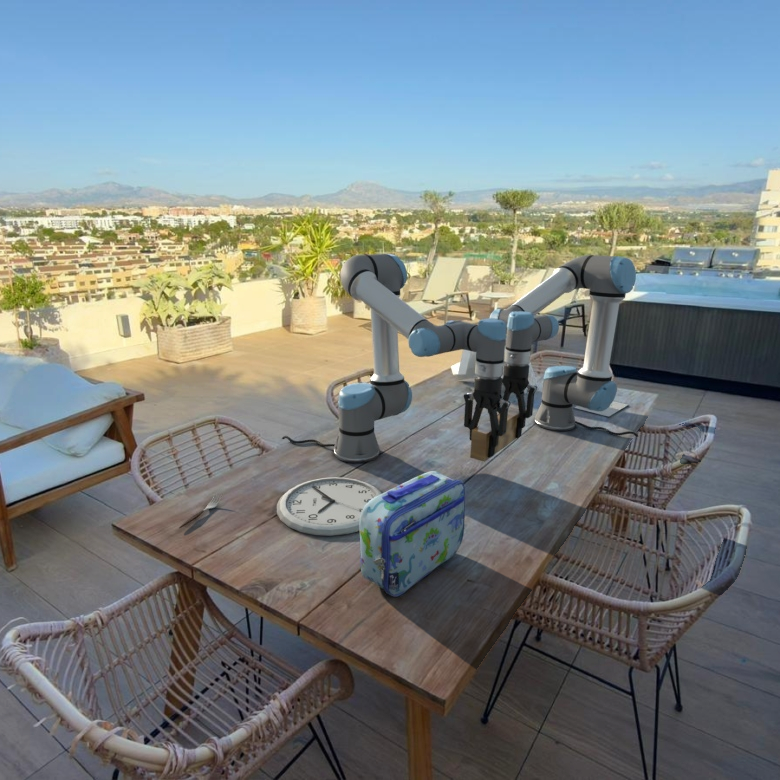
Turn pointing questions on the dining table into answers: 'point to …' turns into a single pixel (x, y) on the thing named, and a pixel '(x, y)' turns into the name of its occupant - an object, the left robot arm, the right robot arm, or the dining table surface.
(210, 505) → the fork
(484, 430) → the bar
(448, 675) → the dining table surface
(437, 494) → the lunch box
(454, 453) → the dining table surface
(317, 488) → the wall clock
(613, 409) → the invitation card
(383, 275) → the left robot arm
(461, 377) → the white plastic object
